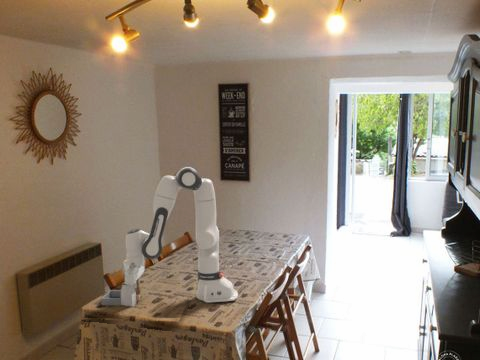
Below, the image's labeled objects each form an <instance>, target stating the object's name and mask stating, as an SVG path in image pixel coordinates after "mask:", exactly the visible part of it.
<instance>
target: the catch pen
mask: <svg viewBox="0 0 480 360" xmlns="http://www.w3.org/2000/svg"><path fill="white" fill-rule="evenodd" d="M121 290H122V289H119V290H118V289H117V290H116V289H115V290H113V289H111V290H108V291H107V292H106V293H105V294H104V295H103V296H102V297H101V303H100V304H101V306H122V305H121Z"/></svg>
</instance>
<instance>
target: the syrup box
mask: <svg viewBox="0 0 480 360" xmlns="http://www.w3.org/2000/svg"><path fill="white" fill-rule="evenodd" d="M128 268H129V266H128V265H127V260H126V259H124V260H123V281H124V282H123V283H124V284H123V285H129V286H133V285H132V284H127V269H128Z"/></svg>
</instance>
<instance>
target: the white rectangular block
mask: <svg viewBox="0 0 480 360" xmlns="http://www.w3.org/2000/svg"><path fill="white" fill-rule="evenodd" d="M120 290H121V297H120V298H121V305H120V306H126V307H134V306H136V305H137V302H138V301H136V291H135V289H134V286H133V285H132V286H129V285H126V284H122V285H121V289H120Z"/></svg>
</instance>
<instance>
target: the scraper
mask: <svg viewBox="0 0 480 360" xmlns="http://www.w3.org/2000/svg"><path fill="white" fill-rule="evenodd" d="M136 284H137V288H134V289H135V291H136V302H139V301H140V300H141V299H142V298H141V297H142V290H141V278H140V279H137V280H136Z"/></svg>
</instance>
